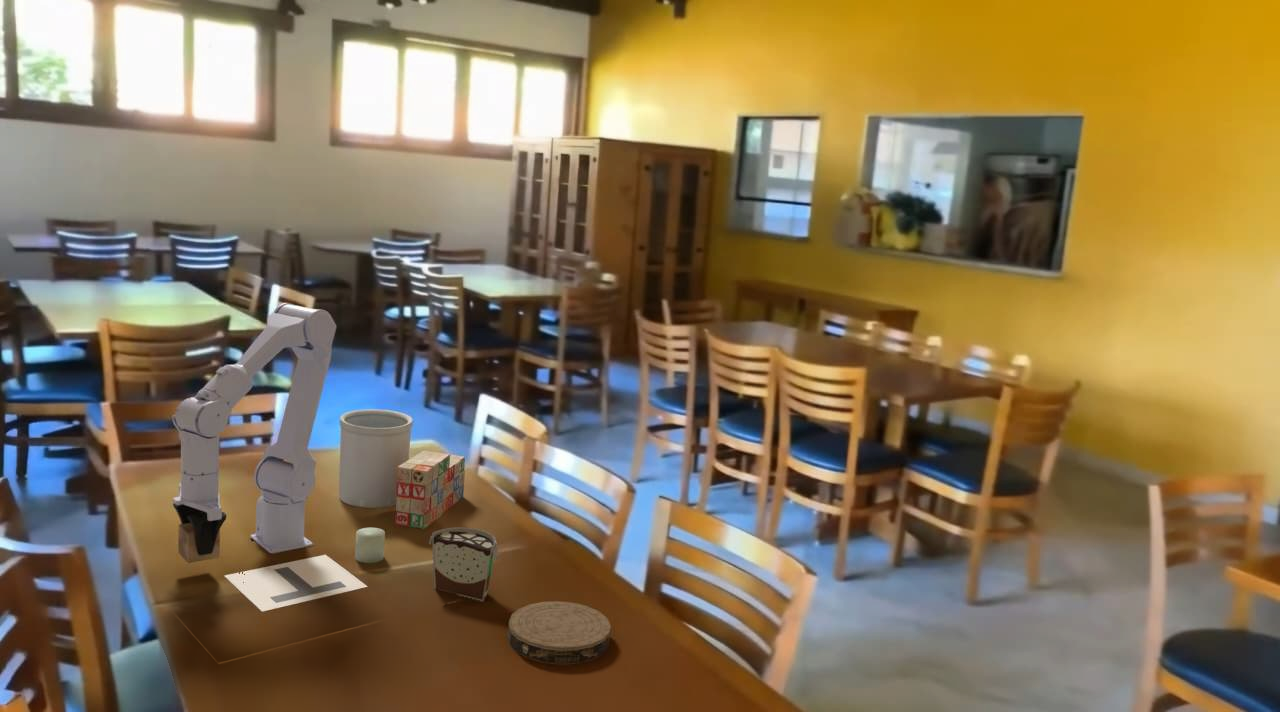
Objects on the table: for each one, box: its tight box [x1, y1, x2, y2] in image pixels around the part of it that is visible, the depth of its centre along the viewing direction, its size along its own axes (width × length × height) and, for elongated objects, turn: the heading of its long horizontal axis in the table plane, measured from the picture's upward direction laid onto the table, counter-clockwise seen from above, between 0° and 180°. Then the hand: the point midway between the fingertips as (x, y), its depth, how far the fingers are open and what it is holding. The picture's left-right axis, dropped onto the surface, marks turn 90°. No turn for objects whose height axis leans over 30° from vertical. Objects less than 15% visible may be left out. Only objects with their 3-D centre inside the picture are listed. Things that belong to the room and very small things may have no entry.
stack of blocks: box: [394, 450, 466, 530], centre depth 206 cm, size 21×6×12 cm, turn 169°
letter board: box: [224, 554, 368, 613], centre depth 167 cm, size 16×18×1 cm
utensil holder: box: [338, 408, 414, 509], centre depth 209 cm, size 15×15×18 cm
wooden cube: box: [177, 523, 221, 564], centre depth 166 cm, size 5×5×5 cm
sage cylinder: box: [354, 527, 386, 564], centre depth 179 cm, size 5×5×5 cm
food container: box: [428, 527, 499, 602], centre depth 170 cm, size 12×6×10 cm, turn 71°
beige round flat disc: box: [507, 600, 612, 665], centre depth 155 cm, size 16×16×3 cm
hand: (199, 548), depth 166 cm, fingers closed on wooden cube, 5 cm apart
